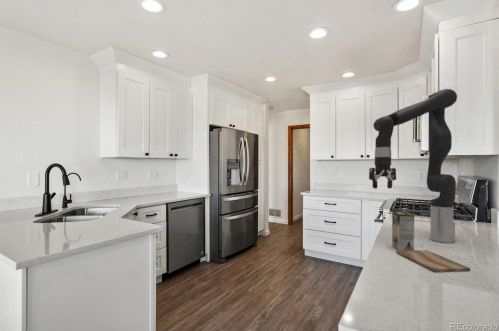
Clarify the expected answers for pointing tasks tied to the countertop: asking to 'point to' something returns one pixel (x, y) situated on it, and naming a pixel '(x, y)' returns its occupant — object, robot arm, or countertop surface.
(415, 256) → the cutting board
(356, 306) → the countertop surface
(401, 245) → the coffee box
